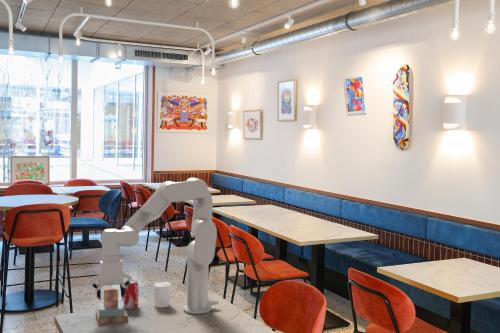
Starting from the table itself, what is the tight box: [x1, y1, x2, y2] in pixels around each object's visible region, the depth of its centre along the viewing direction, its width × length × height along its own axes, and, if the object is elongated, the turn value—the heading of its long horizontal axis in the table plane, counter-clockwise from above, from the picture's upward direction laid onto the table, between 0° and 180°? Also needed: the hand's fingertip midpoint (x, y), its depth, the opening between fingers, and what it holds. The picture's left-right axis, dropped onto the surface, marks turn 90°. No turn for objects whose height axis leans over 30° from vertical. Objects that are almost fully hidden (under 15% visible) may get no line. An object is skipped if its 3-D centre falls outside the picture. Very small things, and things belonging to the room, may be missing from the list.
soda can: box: [122, 279, 140, 310], centre depth 238 cm, size 7×7×12 cm
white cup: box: [152, 281, 172, 309], centre depth 241 cm, size 8×8×10 cm
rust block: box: [103, 287, 119, 308], centre depth 223 cm, size 5×5×7 cm
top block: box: [98, 301, 125, 317], centre depth 223 cm, size 10×10×3 cm
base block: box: [95, 307, 129, 325], centre depth 223 cm, size 12×12×3 cm
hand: (111, 297), depth 223 cm, fingers open, 9 cm apart
